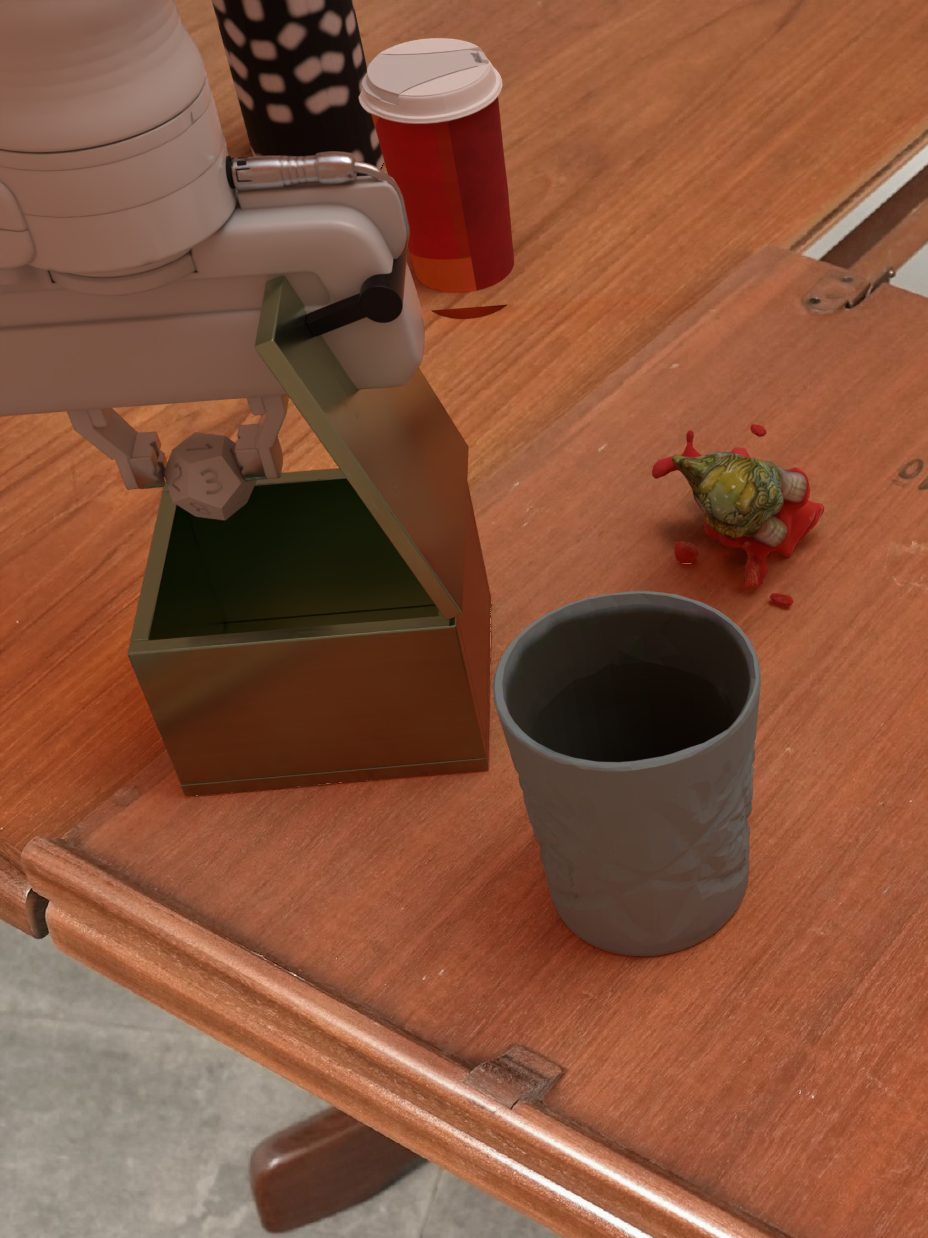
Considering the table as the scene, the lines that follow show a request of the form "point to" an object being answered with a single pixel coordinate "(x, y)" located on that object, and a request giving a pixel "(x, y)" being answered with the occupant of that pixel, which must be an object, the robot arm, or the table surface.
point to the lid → (377, 429)
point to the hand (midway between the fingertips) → (206, 475)
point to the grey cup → (635, 764)
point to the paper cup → (445, 161)
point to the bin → (306, 646)
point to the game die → (207, 477)
